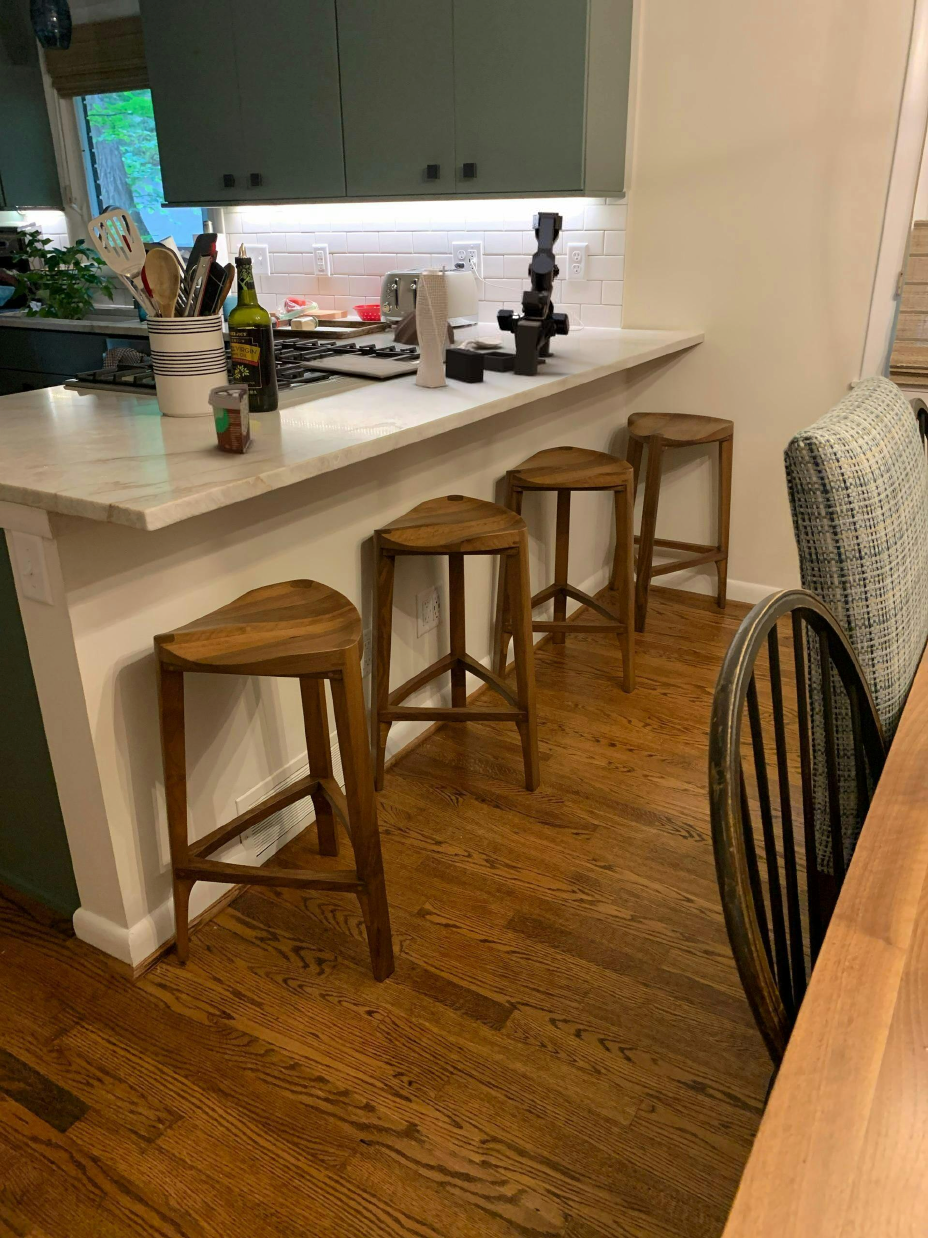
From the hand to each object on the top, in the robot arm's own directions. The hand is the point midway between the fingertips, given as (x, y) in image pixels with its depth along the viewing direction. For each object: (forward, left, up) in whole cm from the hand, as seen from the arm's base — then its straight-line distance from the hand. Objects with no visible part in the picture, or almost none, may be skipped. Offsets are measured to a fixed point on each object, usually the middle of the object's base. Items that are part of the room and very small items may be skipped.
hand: (526, 348), depth 242 cm
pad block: (-1, -1, -7) cm, 7 cm away
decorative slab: (+26, -33, -7) cm, 42 cm away
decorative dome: (-28, -56, -7) cm, 63 cm away
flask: (-2, -29, -7) cm, 30 cm away
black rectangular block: (+17, -7, -7) cm, 19 cm away
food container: (+103, +3, -7) cm, 103 cm away
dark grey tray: (-9, -14, -7) cm, 18 cm away
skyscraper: (+30, -8, -7) cm, 31 cm away
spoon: (-22, -33, -7) cm, 40 cm away
